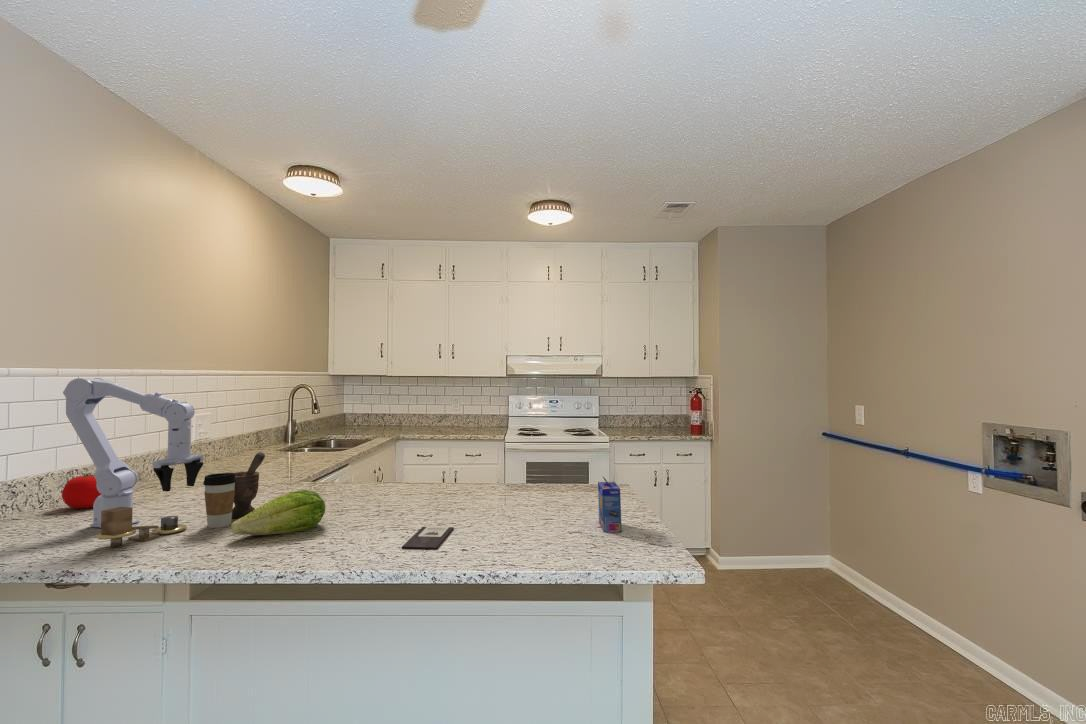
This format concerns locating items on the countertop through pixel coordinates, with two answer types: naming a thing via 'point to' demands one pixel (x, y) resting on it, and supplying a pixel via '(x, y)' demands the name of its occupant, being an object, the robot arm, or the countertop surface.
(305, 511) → the lettuce
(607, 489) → the ink cartridge box
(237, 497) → the mortar and pestle
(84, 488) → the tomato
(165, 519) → the balance
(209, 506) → the coffee cup
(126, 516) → the walnut block
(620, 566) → the countertop surface
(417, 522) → the countertop surface
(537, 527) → the countertop surface
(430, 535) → the chocolate bar
